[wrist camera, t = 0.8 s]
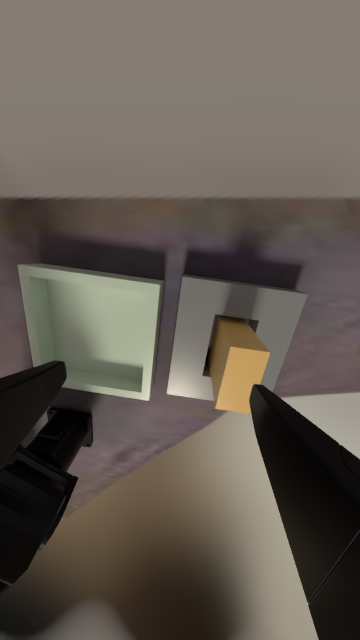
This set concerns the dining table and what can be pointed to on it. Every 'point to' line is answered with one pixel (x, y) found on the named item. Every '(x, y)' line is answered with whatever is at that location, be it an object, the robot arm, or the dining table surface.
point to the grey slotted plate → (236, 301)
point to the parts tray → (94, 326)
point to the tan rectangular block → (235, 363)
